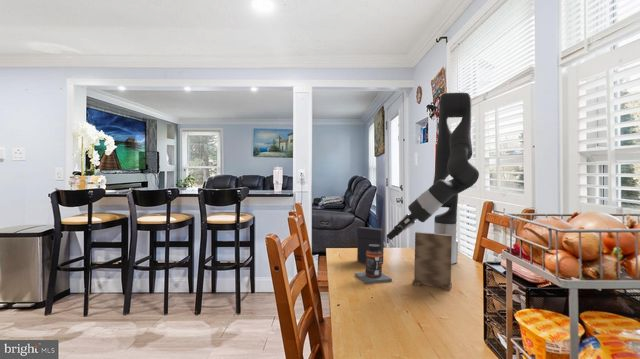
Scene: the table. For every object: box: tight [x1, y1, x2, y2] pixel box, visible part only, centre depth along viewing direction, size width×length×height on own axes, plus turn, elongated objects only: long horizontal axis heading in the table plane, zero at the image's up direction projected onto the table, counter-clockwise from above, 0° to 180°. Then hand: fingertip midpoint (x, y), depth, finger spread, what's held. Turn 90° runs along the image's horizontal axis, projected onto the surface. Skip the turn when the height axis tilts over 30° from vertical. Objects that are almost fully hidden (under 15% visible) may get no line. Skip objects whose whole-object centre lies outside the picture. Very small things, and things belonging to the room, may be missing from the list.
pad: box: [354, 271, 393, 285], centre depth 125 cm, size 10×10×1 cm
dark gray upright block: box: [356, 226, 385, 265], centre depth 146 cm, size 11×4×15 cm, turn 58°
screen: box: [412, 231, 453, 291], centre depth 118 cm, size 12×5×18 cm, turn 63°
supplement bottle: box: [364, 244, 383, 278], centre depth 125 cm, size 6×6×11 cm
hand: (391, 235), depth 121 cm, fingers open, 8 cm apart
